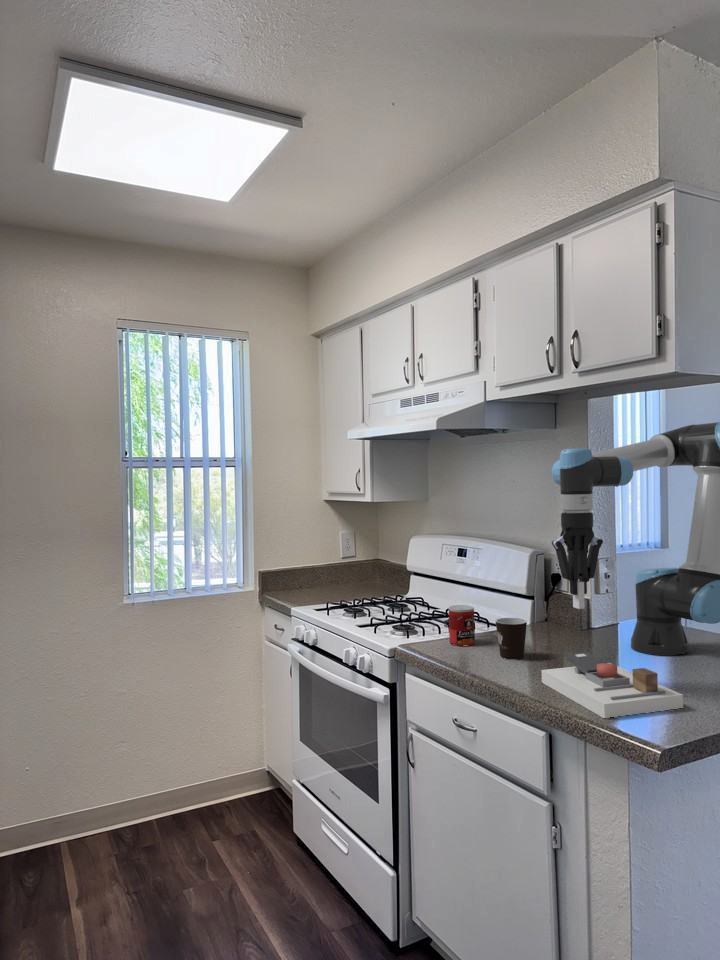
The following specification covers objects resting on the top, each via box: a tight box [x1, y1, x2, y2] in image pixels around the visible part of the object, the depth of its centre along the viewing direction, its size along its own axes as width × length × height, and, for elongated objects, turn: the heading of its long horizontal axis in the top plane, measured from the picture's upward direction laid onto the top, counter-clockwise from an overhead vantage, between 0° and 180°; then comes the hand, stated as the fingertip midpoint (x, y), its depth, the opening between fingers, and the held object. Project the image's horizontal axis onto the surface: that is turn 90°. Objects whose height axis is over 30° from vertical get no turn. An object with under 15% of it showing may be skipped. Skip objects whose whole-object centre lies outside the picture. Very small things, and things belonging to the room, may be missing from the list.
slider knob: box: [632, 667, 659, 693], centre depth 148 cm, size 3×4×4 cm
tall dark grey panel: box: [566, 651, 603, 674], centre depth 162 cm, size 6×9×1 cm, turn 14°
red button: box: [597, 662, 618, 677], centre depth 154 cm, size 4×4×2 cm
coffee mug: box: [495, 617, 528, 660], centre depth 190 cm, size 12×9×10 cm
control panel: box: [541, 662, 684, 719], centre depth 154 cm, size 19×26×4 cm
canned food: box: [448, 604, 476, 646], centre depth 205 cm, size 8×8×11 cm
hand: (578, 607), depth 165 cm, fingers closed
